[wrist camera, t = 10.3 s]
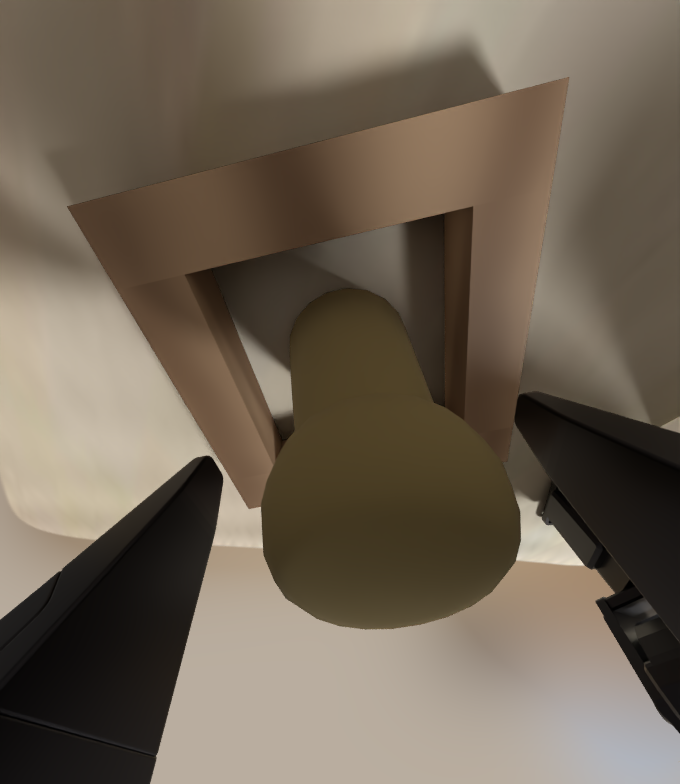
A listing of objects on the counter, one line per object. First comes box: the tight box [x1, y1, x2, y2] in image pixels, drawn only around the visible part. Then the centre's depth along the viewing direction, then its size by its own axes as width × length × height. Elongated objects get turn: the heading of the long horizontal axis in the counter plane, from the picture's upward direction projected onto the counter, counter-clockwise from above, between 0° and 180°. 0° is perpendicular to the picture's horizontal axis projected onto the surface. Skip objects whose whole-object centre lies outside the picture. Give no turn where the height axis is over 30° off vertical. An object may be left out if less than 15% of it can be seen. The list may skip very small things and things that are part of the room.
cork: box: [261, 288, 521, 629], centre depth 9 cm, size 6×6×11 cm
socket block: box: [67, 77, 569, 509], centre depth 13 cm, size 15×15×2 cm
